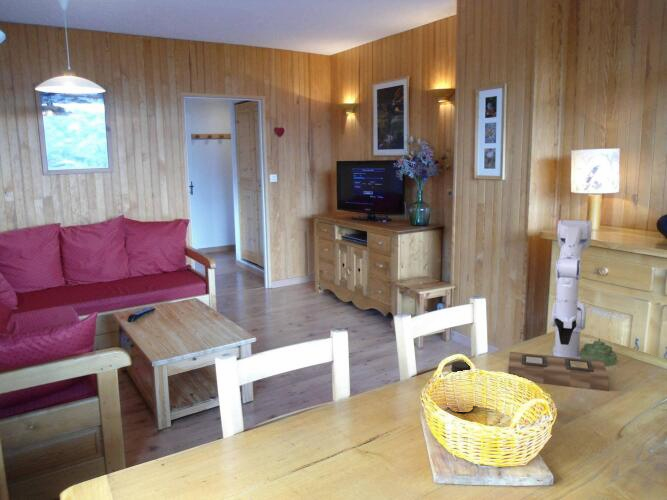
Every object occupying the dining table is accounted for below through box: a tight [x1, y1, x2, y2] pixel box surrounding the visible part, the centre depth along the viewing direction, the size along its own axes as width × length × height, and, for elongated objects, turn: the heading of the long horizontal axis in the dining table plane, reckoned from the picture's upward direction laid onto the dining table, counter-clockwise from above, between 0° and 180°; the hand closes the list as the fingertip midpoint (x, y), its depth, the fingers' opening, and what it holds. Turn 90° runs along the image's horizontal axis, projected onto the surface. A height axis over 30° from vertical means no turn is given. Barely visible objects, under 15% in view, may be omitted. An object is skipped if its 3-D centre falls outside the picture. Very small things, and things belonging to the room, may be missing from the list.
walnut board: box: [507, 351, 610, 392], centre depth 153 cm, size 12×26×4 cm, turn 70°
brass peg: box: [569, 361, 588, 369], centre depth 151 cm, size 4×4×4 cm
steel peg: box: [526, 356, 542, 364], centre depth 155 cm, size 4×4×4 cm
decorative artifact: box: [580, 338, 618, 367], centre depth 164 cm, size 10×7×10 cm
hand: (564, 343), depth 153 cm, fingers closed
